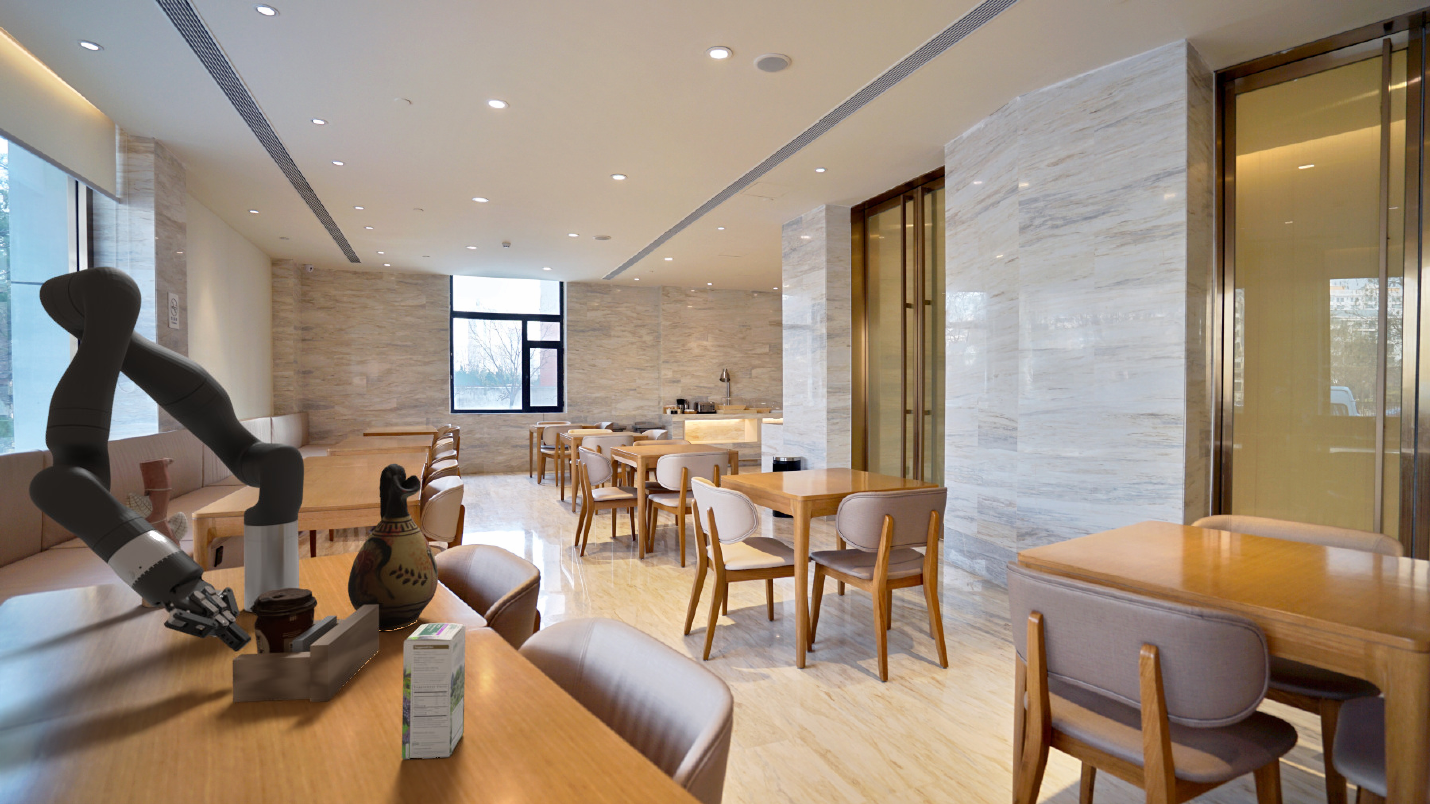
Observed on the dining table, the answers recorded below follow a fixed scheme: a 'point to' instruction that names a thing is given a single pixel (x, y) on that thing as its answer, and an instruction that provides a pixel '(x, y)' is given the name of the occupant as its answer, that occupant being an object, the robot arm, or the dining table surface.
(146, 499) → the vase
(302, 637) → the pad
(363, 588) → the ceramic jug
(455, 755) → the dining table surface
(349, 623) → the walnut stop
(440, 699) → the syrup box
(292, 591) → the coffee cup
